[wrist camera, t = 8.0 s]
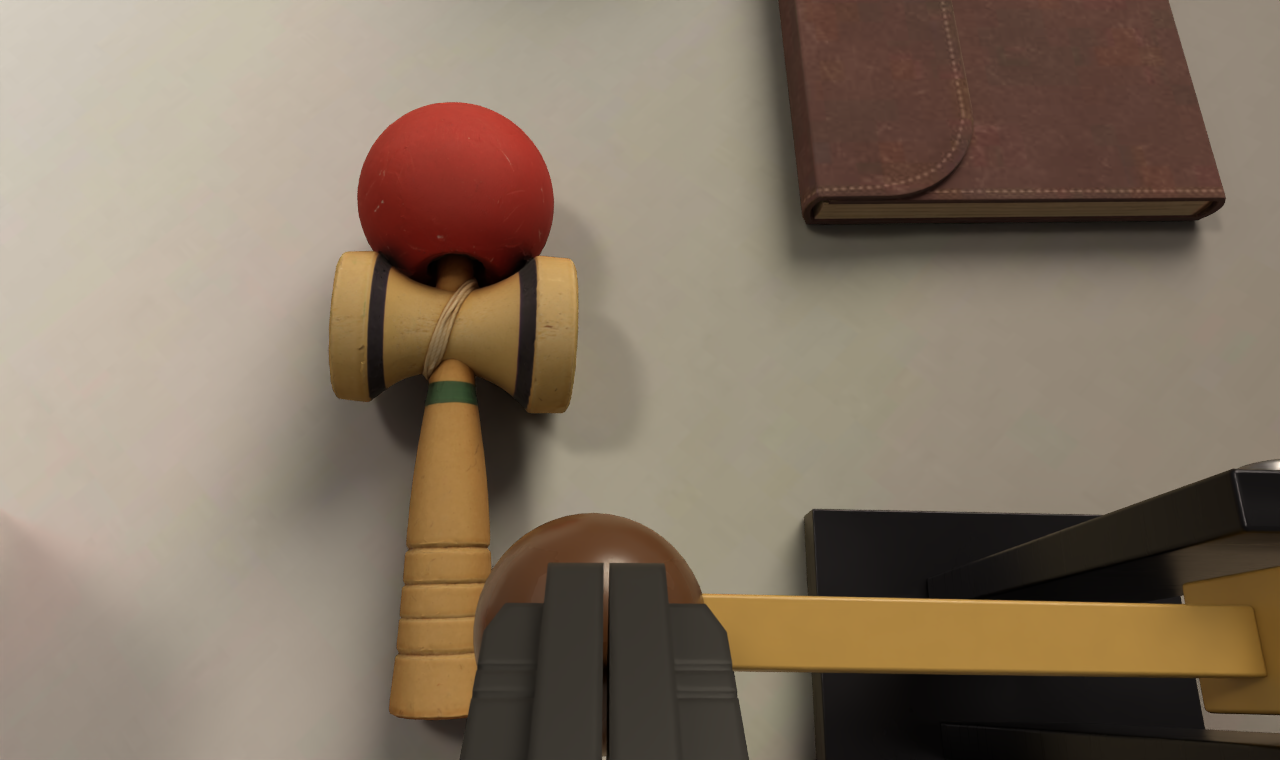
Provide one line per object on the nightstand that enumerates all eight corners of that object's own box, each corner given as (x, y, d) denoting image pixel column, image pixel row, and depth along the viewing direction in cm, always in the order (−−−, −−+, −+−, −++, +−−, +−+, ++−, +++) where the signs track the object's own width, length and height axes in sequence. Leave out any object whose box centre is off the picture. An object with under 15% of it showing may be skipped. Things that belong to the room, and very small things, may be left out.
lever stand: (819, 832, 25) (1093, 999, 11) (803, 516, 28) (1004, 340, 14) (1199, 835, 26) (1910, 998, 12) (1143, 523, 29) (1659, 359, 15)
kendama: (612, 691, 28) (599, 145, 31) (570, 731, 21) (559, 44, 25) (372, 695, 28) (385, 164, 32) (264, 734, 22) (295, 71, 26)
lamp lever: (474, 749, 15) (450, 765, 11) (489, 531, 16) (472, 486, 13) (1336, 756, 16) (1546, 771, 13) (1290, 552, 17) (1470, 517, 14)
